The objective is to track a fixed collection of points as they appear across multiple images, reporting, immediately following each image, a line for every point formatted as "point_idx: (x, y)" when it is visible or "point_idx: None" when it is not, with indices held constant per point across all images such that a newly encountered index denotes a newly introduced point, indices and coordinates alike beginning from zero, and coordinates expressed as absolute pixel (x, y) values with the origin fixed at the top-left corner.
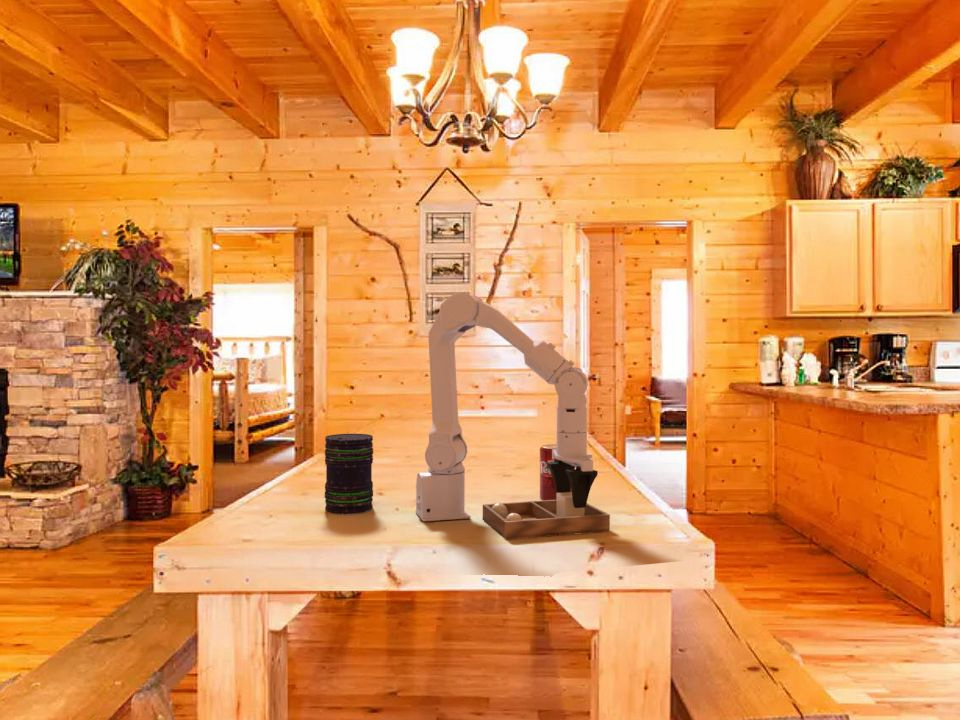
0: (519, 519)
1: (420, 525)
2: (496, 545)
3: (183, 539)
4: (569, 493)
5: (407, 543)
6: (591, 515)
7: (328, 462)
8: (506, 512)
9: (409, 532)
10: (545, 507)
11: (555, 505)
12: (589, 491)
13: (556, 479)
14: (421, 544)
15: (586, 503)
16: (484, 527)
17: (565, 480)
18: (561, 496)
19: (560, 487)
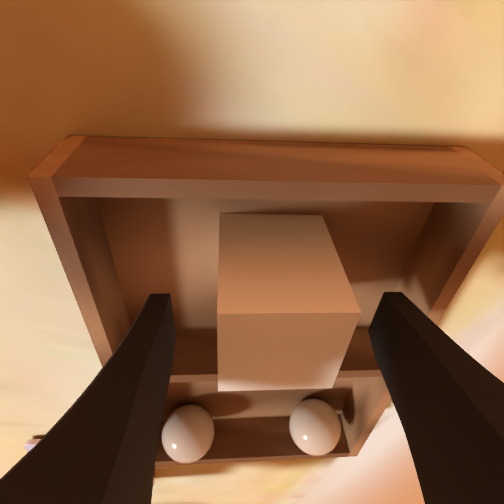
0: (339, 433)
1: (176, 480)
2: None
3: None
4: (253, 352)
5: (286, 490)
6: (456, 270)
7: None
8: (206, 425)
9: (221, 488)
10: (115, 316)
11: (102, 285)
12: (475, 360)
13: (154, 458)
14: (300, 482)
15: (413, 303)
16: None
17: (147, 414)
18: (287, 385)
19: (161, 387)
